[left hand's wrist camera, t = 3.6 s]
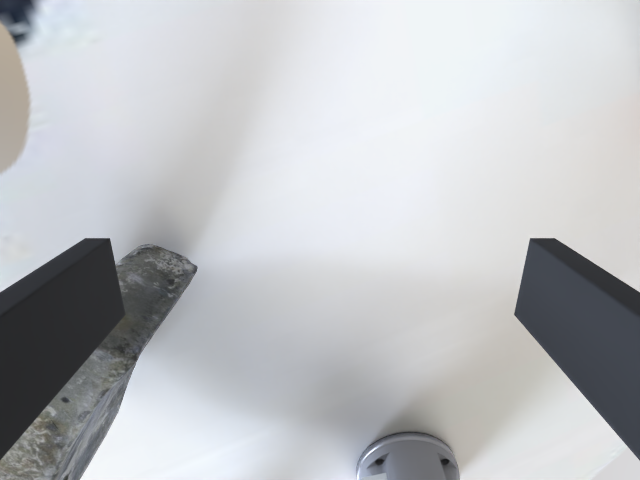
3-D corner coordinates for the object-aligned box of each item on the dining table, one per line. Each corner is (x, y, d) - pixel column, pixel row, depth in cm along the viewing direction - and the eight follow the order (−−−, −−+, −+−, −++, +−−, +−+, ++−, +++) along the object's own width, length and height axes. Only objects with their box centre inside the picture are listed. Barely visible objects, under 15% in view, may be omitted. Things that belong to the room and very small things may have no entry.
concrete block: (147, 219, 45) (27, 310, 27) (215, 257, 47) (146, 366, 29) (68, 374, 54) (-67, 526, 35) (128, 401, 55) (30, 560, 37)
